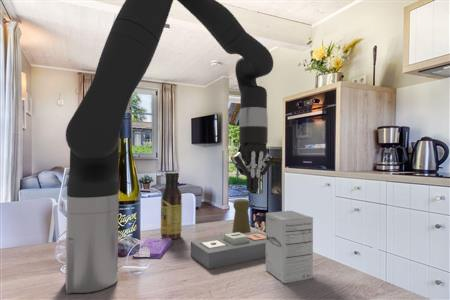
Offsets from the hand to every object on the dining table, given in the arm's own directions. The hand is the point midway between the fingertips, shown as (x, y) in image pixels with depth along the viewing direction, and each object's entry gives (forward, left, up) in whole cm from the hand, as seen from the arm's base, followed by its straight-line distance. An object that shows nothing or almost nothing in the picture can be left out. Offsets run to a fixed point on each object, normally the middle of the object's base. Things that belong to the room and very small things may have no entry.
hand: (252, 191), depth 77 cm
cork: (+6, +15, -16) cm, 23 cm away
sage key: (-6, -1, -13) cm, 14 cm away
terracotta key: (+1, -1, -14) cm, 14 cm away
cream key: (-12, -1, -14) cm, 19 cm away
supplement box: (-2, -16, -16) cm, 23 cm away
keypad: (-6, -1, -16) cm, 16 cm away
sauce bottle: (-15, +22, -16) cm, 31 cm away
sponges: (-23, +13, -16) cm, 31 cm away
